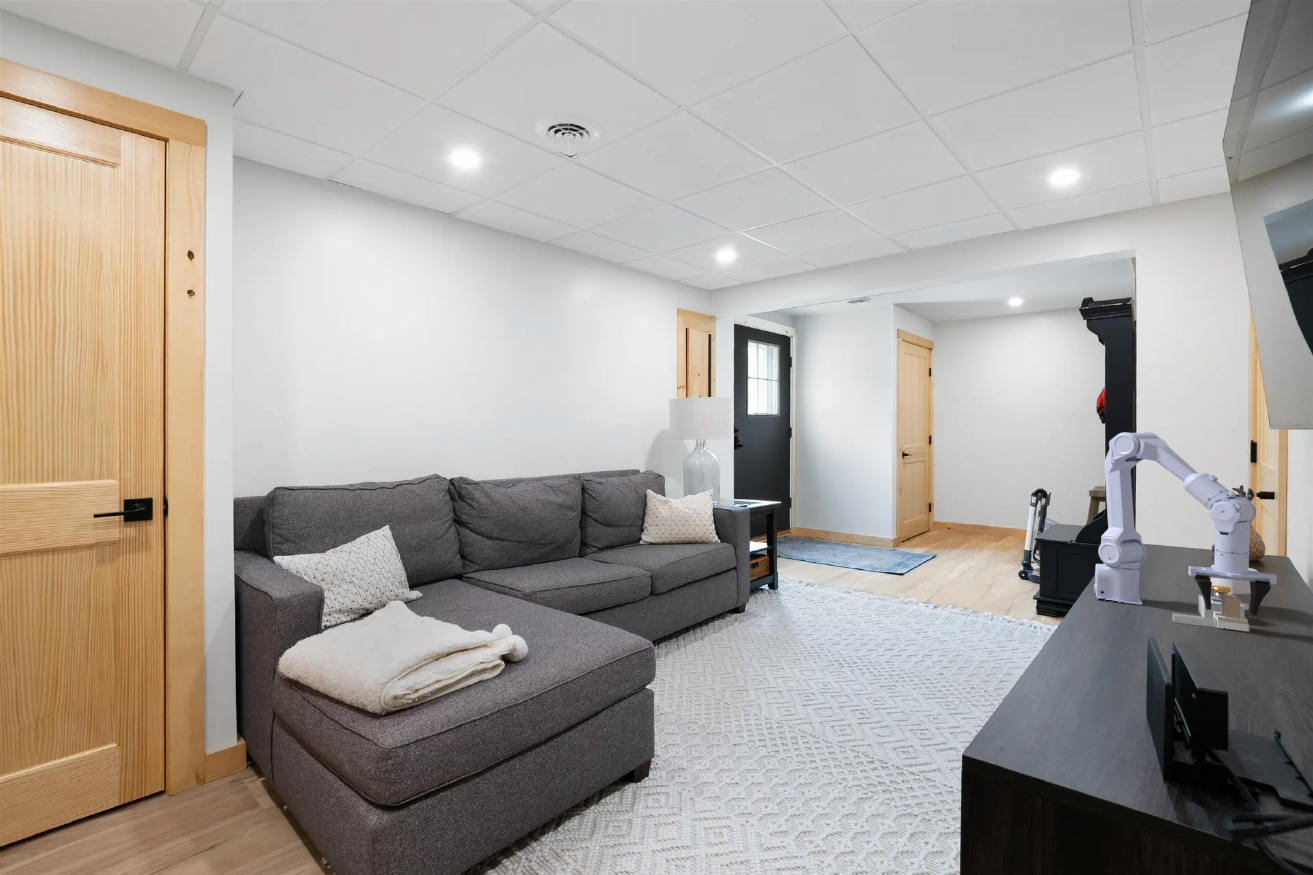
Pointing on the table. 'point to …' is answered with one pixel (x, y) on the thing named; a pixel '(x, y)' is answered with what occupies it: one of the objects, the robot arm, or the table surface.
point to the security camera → (1234, 586)
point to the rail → (1196, 620)
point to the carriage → (1230, 614)
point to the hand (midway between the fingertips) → (1230, 611)
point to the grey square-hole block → (1212, 607)
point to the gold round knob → (1220, 592)
